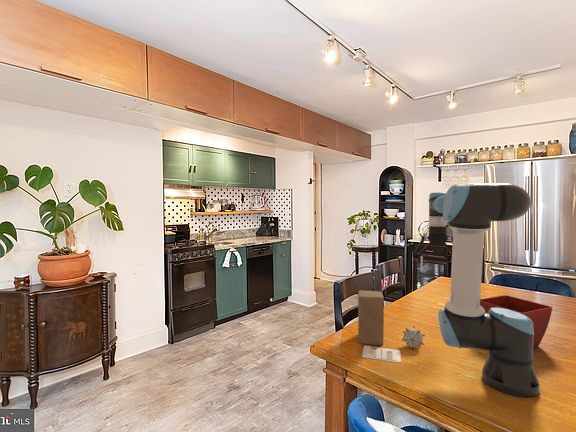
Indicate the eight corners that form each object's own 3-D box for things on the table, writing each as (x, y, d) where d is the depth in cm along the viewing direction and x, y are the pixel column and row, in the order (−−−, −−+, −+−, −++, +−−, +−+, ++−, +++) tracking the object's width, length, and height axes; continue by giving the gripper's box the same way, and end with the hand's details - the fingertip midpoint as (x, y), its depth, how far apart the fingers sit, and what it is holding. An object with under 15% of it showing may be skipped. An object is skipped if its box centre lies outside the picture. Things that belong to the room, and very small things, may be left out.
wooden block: (383, 345, 128) (383, 297, 128) (358, 343, 130) (358, 296, 130) (381, 336, 138) (381, 291, 137) (358, 334, 140) (358, 290, 139)
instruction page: (400, 362, 114) (400, 362, 114) (361, 357, 119) (361, 356, 119) (400, 350, 124) (400, 350, 124) (364, 345, 128) (364, 345, 128)
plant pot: (475, 337, 137) (476, 299, 136) (505, 330, 144) (506, 294, 143) (521, 356, 119) (522, 313, 118) (553, 348, 126) (554, 307, 125)
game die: (409, 357, 126) (394, 338, 126) (411, 342, 133) (397, 324, 133) (429, 352, 121) (414, 332, 120) (431, 337, 128) (416, 318, 127)
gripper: (466, 225, 144) (465, 271, 145) (408, 225, 153) (408, 268, 153) (469, 226, 137) (469, 274, 138) (409, 225, 146) (408, 270, 146)
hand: (437, 271), depth 145 cm, fingers open, 13 cm apart
